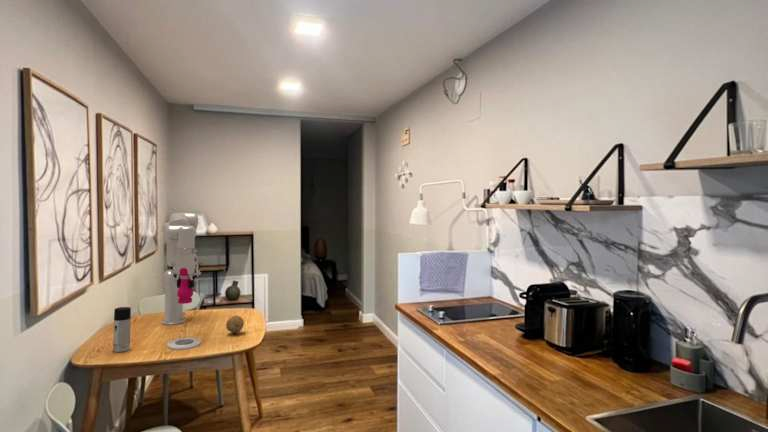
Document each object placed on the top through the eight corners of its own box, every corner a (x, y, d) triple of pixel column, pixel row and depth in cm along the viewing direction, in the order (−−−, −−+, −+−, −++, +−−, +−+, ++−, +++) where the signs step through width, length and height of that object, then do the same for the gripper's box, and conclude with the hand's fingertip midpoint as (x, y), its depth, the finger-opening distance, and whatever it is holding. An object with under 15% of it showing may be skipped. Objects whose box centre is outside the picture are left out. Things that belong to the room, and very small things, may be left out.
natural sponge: (237, 337, 216) (237, 318, 216) (222, 335, 217) (222, 317, 217) (246, 332, 225) (246, 314, 224) (232, 331, 226) (232, 313, 226)
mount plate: (177, 339, 210) (177, 336, 210) (206, 340, 210) (206, 337, 210) (161, 349, 195) (161, 346, 195) (192, 350, 195) (192, 347, 195)
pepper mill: (186, 304, 198) (187, 263, 197) (173, 303, 199) (174, 262, 199) (196, 301, 205) (197, 261, 204) (183, 300, 206) (184, 261, 206)
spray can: (118, 347, 196) (118, 306, 195) (132, 347, 196) (133, 306, 196) (110, 352, 189) (110, 310, 189) (125, 352, 190) (126, 310, 189)
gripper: (206, 251, 205) (205, 286, 206) (173, 250, 205) (172, 285, 206) (199, 252, 198) (198, 289, 198) (164, 251, 198) (164, 288, 198)
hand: (185, 287), depth 202 cm, fingers closed on pepper mill, 5 cm apart
